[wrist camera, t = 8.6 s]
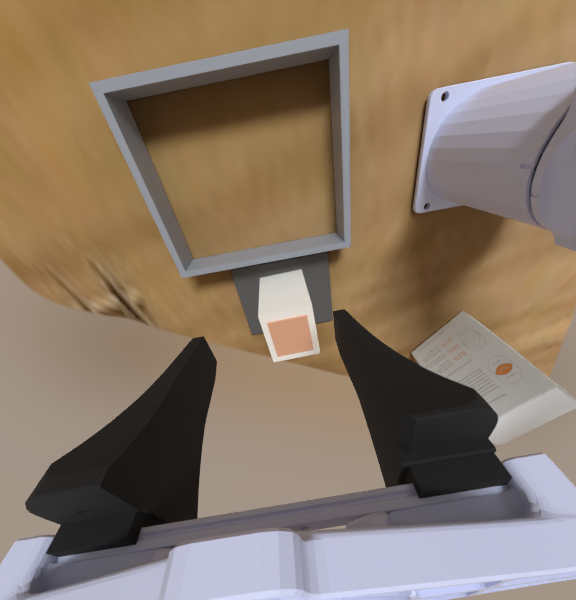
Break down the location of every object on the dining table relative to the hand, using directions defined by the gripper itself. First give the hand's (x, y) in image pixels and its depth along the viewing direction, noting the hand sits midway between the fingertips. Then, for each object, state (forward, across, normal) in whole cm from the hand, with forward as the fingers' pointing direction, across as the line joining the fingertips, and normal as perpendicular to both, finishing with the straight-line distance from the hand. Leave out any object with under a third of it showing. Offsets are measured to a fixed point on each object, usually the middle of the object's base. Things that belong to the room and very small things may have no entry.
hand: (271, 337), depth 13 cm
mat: (+10, -1, +4) cm, 11 cm away
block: (+10, -1, +4) cm, 11 cm away
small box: (+11, -20, +15) cm, 27 cm away
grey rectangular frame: (+10, 0, -7) cm, 13 cm away
